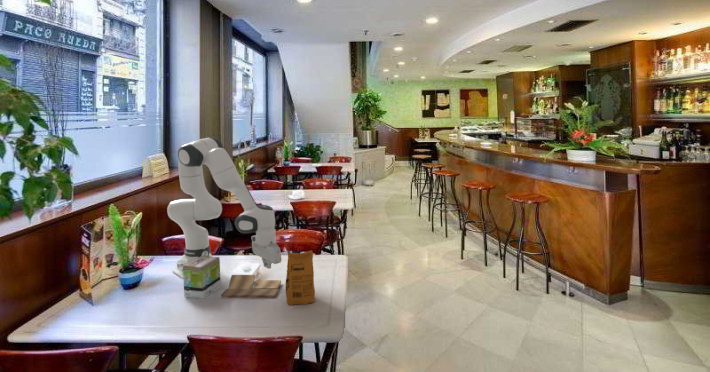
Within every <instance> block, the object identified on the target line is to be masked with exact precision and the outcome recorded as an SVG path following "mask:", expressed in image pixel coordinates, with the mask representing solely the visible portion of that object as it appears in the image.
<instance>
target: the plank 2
mask: <svg viewBox="0 0 710 372" xmlns="http://www.w3.org/2000/svg"><path fill="white" fill-rule="evenodd" d="M281 283H282V279H258V280H257V281H256V283H255V285H254V286H253V289H278V290H279V289H280V287H281Z"/></svg>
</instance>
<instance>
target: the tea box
mask: <svg viewBox="0 0 710 372" xmlns="http://www.w3.org/2000/svg"><path fill="white" fill-rule="evenodd" d="M220 261H221V260H220V256H212V257H210V256H200V257H198V258H197V259H195V260H193V261H191V262H189V263H187V264H185V265H184V266H183V279H182V280H183V295H184V298H191V299H205V298H206V297H208V296H209V295H211V293H213V292H214V291H216V290H217V289H219V288H220V287H221V285H222V284H221V262H220Z"/></svg>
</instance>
